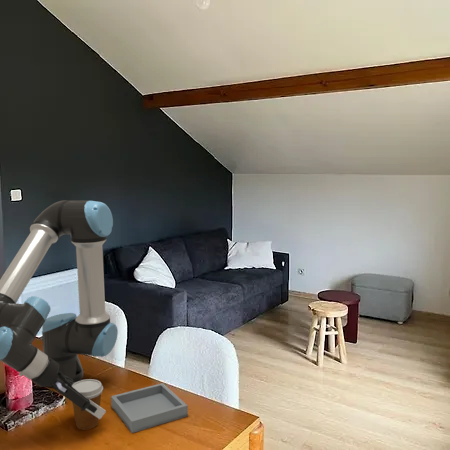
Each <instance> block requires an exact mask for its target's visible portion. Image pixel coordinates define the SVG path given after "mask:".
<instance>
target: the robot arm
mask: <svg viewBox="0 0 450 450" xmlns="http://www.w3.org/2000/svg"><path fill="white" fill-rule="evenodd" d="M113 225H114V219H113V214H112V211H111V209H110V208H109V206H108V205H107V204H106V203H104V202H101V201H95V200H67V199H66V200H65V199H64V200H60V201H59V200H58V201H57V202H54V203H52V204H51V205H49V206H48V207H46V208H45V209H44V210H42V212H41V213H39V215H38V216H37V217H35V220H33V222H32V224H31V225H30V227H29V232H30V233H29V235H28V236H27V237H26V239H25V241H23V244H22V245H21V247H20V248H19V250H18V251H17V252H16V255H15V256H14V258H12V261H10V264H9V265H8V267H7V268H6V270H5V272H4V273H3V275H2V276H1V278H0V362H2V363H4V364H5V365H7V366H8V367H10V368H12V369H13V370H15V371H16V372H18V376H19V377H23V376H24V377H26V378H27V379H29V380H30V381H31V382H32V383H34V384H36V385H37V386H38V387H40V388H42V387H46V388H47V387H48V388H53V390H55V391H57V393H59V394H61V395H62V396H64V397H65V398H66V399H68V400H69V401H70V402H73V403H74V404H76V405H77V406H78V407H80V408H81V411H83V410H84V411H85V410H87V411H88V412H90V413H91V414H93V415H94V416H96V417H97V418H99V419H98V420H101V419H102V417H103V416H105V414H106V413H107V411H106V409H104V408H103V407H101V405H100V406H98V405H97V404H96V403H94V402H93V401H91V400H90V399H87V398H86V397H84V396H83V395H82V394H81V393H79V392H78V391H77V390H76V389H74V388H73V387H72V385H73V384H74V383H76V382H78V381H81V380H83V378H84V369H83V367H82V363H81V360H80V358H79V356H78V355H82V356H83V355H84V356H91V357H94V358H96V357H104V358H105V357H106V356H108V355H109V354H110V353H111V352H112V351H113V349H114V347H115V344H116V343H117V339H118V333H119V332H118V326H117V325H116V324H115V323H114V322H111V314H110V313H108V312H106V300H105V299H106V298H105V295H106V294H105V278H104V277H105V275H104V251H103V245H104V243H105V242H106V241H108V240H107V237H108V236H109V235H111V233H112V231H113V229H112V228H113V227H114V226H113ZM63 235H68V236H69V235H70V242H71V243H72V244H73V245H74V247H75V253H76V268H77V269H76V270H77V288H78V289H77V290H78V306H79V308H78V309H79V314H78V315H77V314H76V313H73V312H65V313H60V314H55V315H52V316H49V314H50V313H51V306H50V304H49V302H47V301H46V300H45V299H43V298H42V297H39V296H36V295H35V296H30V297H27V298H26V300H25V301H24V302H23V303H17V302H18V301H19V299H20V297H21V295H23V293H24V291H25V289H26V287H27V286H28V284H29V283H30V280H31V279H32V277H33V276H34V274H35V272H36V271H37V269H38V267H39V265H40V264H41V262H42V261H43V259H44V257H45V256H46V254H47V252H48V250H49V248H51V246H52V244H55V243H57V241H58V240H59V239H60V237H61V236H63ZM48 316H49V317H48ZM41 329H42V330H41ZM40 330H41V333H42V350H40V348H37V347H36V346H34V345H33V344H32V343H33V341H34V339H36V337H37V335H38V333H39V332H40ZM73 403H72V404H73Z"/></svg>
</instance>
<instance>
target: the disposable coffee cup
mask: <svg viewBox="0 0 450 450" xmlns="http://www.w3.org/2000/svg"><path fill="white" fill-rule="evenodd" d="M72 387H73V388H74V389H76V390H77V391H78V392H79V393H81V394H82V395H83V396H84V397H86V398H87V399H90V400H91V401H93V402H94V403H96V404H97V405H98V406H100V407H101V399H102V398H101V397H102V393H103V390H104V386H103V384H102V382H101V381H100V380H98V379H94V378H93V379H92V378H89V379H88V378H87V379H81V380H80V381H78V382H76V383H74V384H73V385H72ZM71 402H72V401H71ZM72 410H73V414H74V421H75V427H76V428H77V429H79V430H83V431H85V430H91V429H94V428H95V427H97V426H98V424H99V420H100V419H99V418H97V417H96V416H94V415H93V414H91V413H90V412H88V411H87V410H85V411H84V410H83V411H81V408H80V407H78V406H77V405H76V404H74V403H73V402H72Z"/></svg>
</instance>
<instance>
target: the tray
mask: <svg viewBox="0 0 450 450" xmlns="http://www.w3.org/2000/svg"><path fill="white" fill-rule="evenodd" d="M110 404H111V405H110V407H111V408H112V409H113V411H114V413H116V415H117V416H118V417H119V419H120V420H121V422H123V424H124V425H125V427H126V428H127V429H128V430H129V431H130V433H131V434H134V433H137V432H141V431H145V430H146V429H147V430H148V429H150V428H154V427H157V426H160V425H163V424H166V423H170V422H174V421H177V420H179V419H182V418H186V417H188V415H189V414H188V413H189V412H188V410H189V408H188V407H189V405H188V404H187V403H185V402H184V400H183V399H181V398H180V397H179V396H178V395H177V394H176V393H175V392H173V391H172V389H170V388H169V387H168V386H166V385H165V383H163V382H162V383H161V382H160V383H158V384H154V385H149V386H145V387H142V388H138V389H134V390H129V391H125V392H123V393H119V394H115V395H111V396H110Z"/></svg>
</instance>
